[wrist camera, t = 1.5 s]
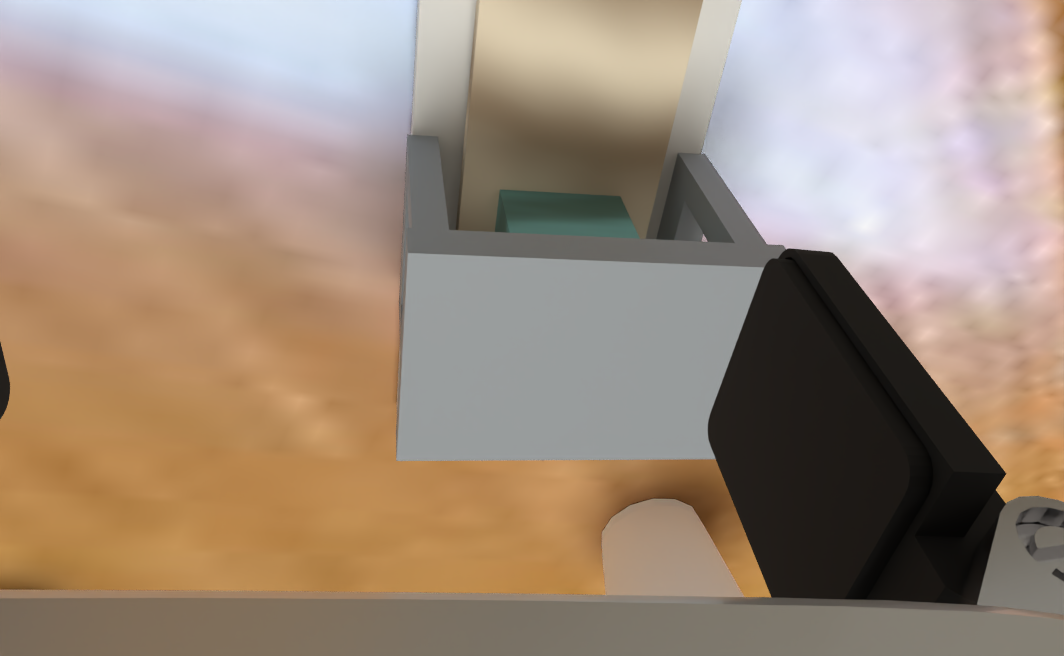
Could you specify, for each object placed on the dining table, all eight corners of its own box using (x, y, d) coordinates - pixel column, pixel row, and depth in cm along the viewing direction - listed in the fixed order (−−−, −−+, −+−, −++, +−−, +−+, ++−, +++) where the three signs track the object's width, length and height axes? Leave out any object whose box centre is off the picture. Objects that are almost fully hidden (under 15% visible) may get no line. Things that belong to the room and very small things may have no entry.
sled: (496, -216, 26) (531, -186, 20) (736, -181, 28) (838, -143, 22) (447, 324, 39) (459, 448, 32) (615, 329, 40) (658, 448, 34)
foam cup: (545, 553, 53) (585, 764, 42) (641, 460, 49) (710, 667, 38) (657, 594, 57) (718, 795, 46) (754, 511, 53) (843, 710, 43)
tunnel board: (440, -758, 21) (479, -1072, 12) (903, -635, 23) (1210, -825, 15) (388, 404, 43) (389, 583, 35) (628, 406, 46) (685, 574, 37)
